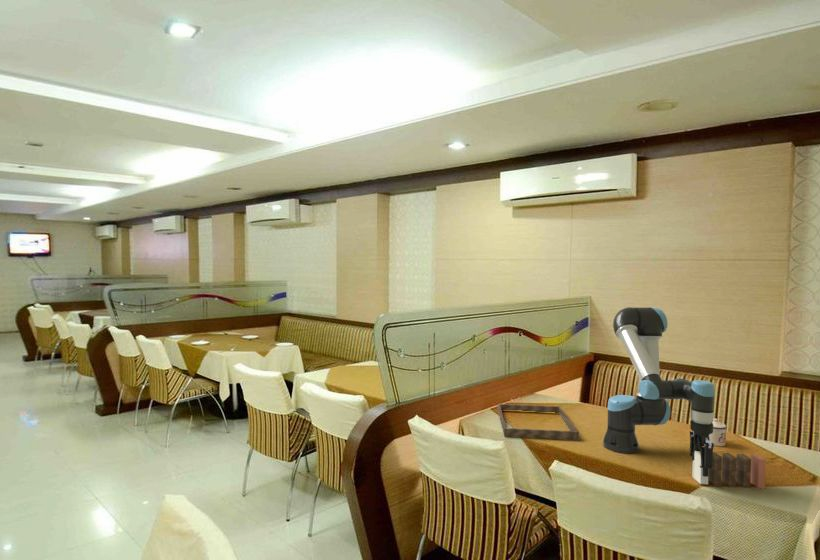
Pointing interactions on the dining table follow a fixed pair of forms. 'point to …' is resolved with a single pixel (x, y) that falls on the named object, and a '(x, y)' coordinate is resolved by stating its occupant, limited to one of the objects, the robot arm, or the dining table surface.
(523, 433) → the serving frame
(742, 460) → the domino
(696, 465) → the domino
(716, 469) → the domino
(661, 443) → the dining table surface
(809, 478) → the dining table surface
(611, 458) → the dining table surface
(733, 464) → the domino
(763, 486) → the domino
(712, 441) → the teacup with lid
